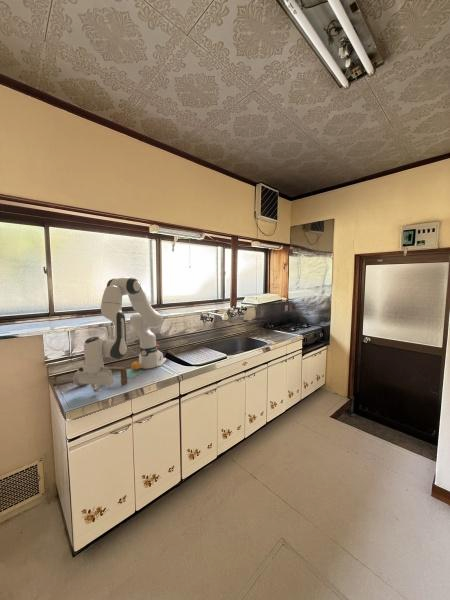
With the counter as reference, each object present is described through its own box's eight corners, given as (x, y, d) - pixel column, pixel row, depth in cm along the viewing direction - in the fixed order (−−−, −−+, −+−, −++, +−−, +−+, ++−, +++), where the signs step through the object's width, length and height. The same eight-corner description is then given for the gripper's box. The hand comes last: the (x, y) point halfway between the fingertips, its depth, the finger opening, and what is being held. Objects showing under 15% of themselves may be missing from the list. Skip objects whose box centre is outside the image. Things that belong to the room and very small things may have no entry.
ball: (133, 370, 172) (135, 362, 175) (140, 371, 170) (143, 362, 173) (128, 368, 167) (131, 360, 170) (136, 369, 165) (138, 360, 168)
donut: (74, 388, 143) (73, 372, 142) (72, 387, 145) (71, 370, 144) (92, 383, 150) (91, 367, 149) (91, 381, 152) (89, 366, 151)
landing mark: (128, 369, 171) (128, 369, 171) (144, 370, 168) (144, 370, 168) (115, 377, 159) (115, 376, 159) (133, 378, 155) (133, 377, 155)
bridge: (106, 381, 152) (105, 366, 151) (127, 382, 148) (126, 367, 148) (103, 383, 149) (101, 367, 148) (124, 385, 146) (123, 369, 145)
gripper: (114, 366, 134) (116, 390, 135) (84, 364, 139) (86, 387, 140) (106, 370, 128) (108, 395, 129) (74, 368, 133) (76, 392, 134)
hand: (96, 391), depth 134 cm, fingers closed
